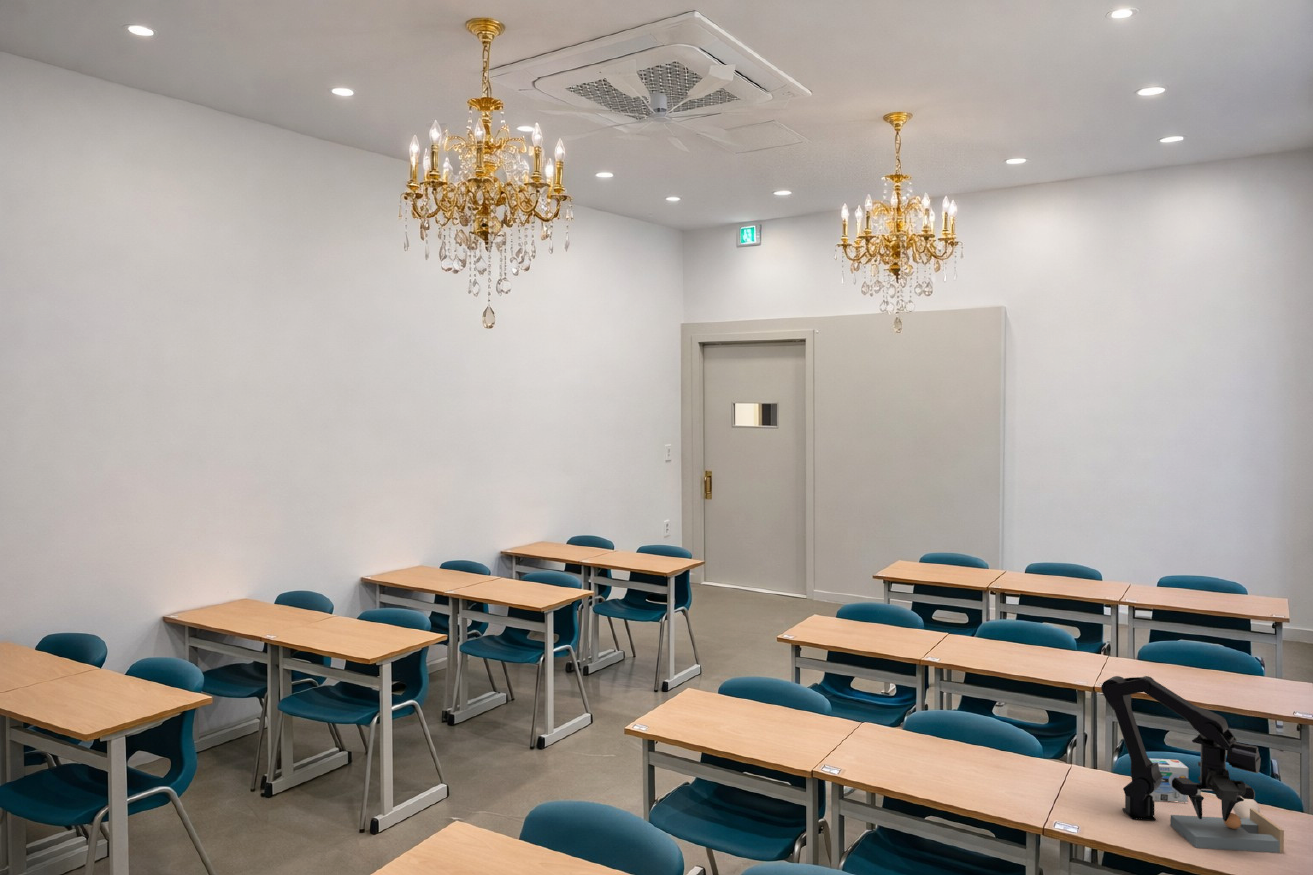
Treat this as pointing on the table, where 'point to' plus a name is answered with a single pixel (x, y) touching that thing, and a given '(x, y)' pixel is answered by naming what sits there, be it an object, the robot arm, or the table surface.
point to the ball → (1233, 821)
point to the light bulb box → (1169, 780)
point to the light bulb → (1245, 808)
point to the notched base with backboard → (1231, 833)
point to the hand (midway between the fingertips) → (1212, 819)
